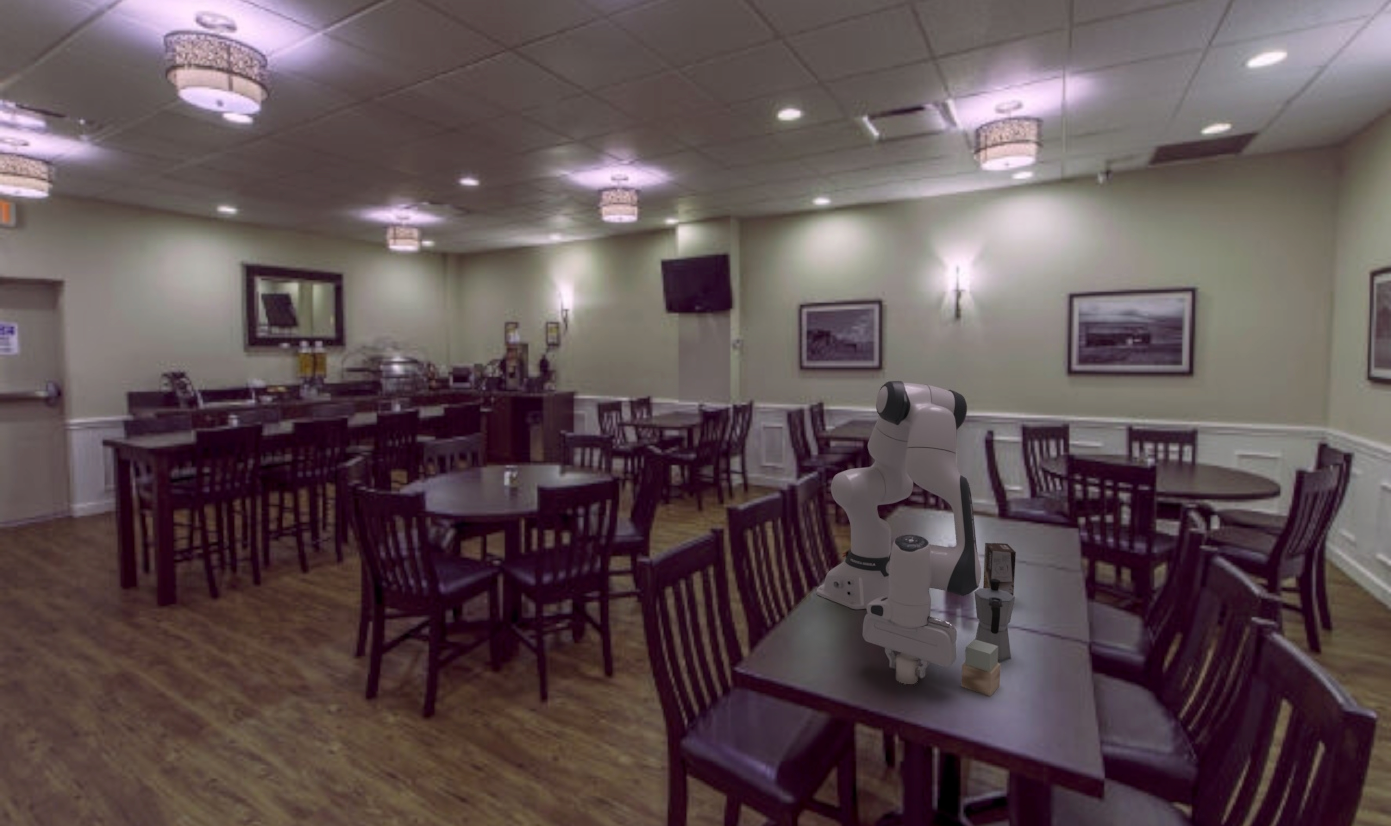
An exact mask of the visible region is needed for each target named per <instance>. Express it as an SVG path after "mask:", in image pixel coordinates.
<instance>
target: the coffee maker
mask: <svg viewBox="0 0 1391 826" xmlns="http://www.w3.org/2000/svg"><path fill="white" fill-rule="evenodd" d="M999 585H1000V580H998V579H990V586H991V588H982V587H981V588H980V587H979V588H977V589H976V590H974V591H973V593H974V600H975V602H974V603H975V609H976V610H975V612H976V618H977V619H978V624H977V629H976V634H975V640H979V641H982V642H986V643H989V644H993V645H996V646H998V662H1003V661H1007V660H1011V659H1012V655H1011V648H1010V647H1011V646H1010V638H1009V630H1008V624H1010V623H1011V621H1012V614H1013V609H1014V604H1015V599H1016V597H1015V596H1014V595H1011V594H1010V593H1009V592H1007V591H1003V590H999Z"/></svg>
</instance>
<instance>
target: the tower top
mask: <svg viewBox="0 0 1391 826" xmlns="http://www.w3.org/2000/svg"><path fill="white" fill-rule="evenodd" d="M964 662H965V665H968V666H971V667H974V668H977V669H981V670H984V671H987V672H990V671H991V670H992V669H993V668H994V667H995V666H996V665H997V664H998V663H999V661H998V646H996V645H993V644H989V643H986V642H982V641H979V640H975V639H973V640H972V641H971V642H970V643H968V645H966V646H965V661H964Z"/></svg>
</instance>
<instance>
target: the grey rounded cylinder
mask: <svg viewBox="0 0 1391 826" xmlns="http://www.w3.org/2000/svg"><path fill="white" fill-rule="evenodd" d="M895 657H896V669H895V680H896V681H897V682H898V681H899V682H898V683H900V682H901V683H900V684H902V683H904V684H903V685H906V684H914V683H916V682H917V681H918V680H919V677H917V676H916V675H915V674H916V668H918V667H919V658H916V657H913V656H910V655H907V654H904V653H901V652H899V653H898V654H897V655H895ZM918 682H919V681H918ZM918 682H917V683H918ZM917 683H916V684H917ZM914 685H915V684H914Z"/></svg>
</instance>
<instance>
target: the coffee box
mask: <svg viewBox="0 0 1391 826" xmlns="http://www.w3.org/2000/svg"><path fill="white" fill-rule="evenodd" d="M1016 554H1017V552H1016V551H1015V550H1014V549H1013V548H1012V547H1011V546H1010V544H1008V543H1002V542H985V543H984V555H983V556H984V560H983V561H984V563H983V588H991V586H990V579H998V580H1000V585H999V590H1003V591H1007V592H1009V593H1010V594H1011V595H1013V596H1014V592H1015V591H1014V589H1015V576H1016V574H1015V572H1016V556H1017V555H1016Z"/></svg>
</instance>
